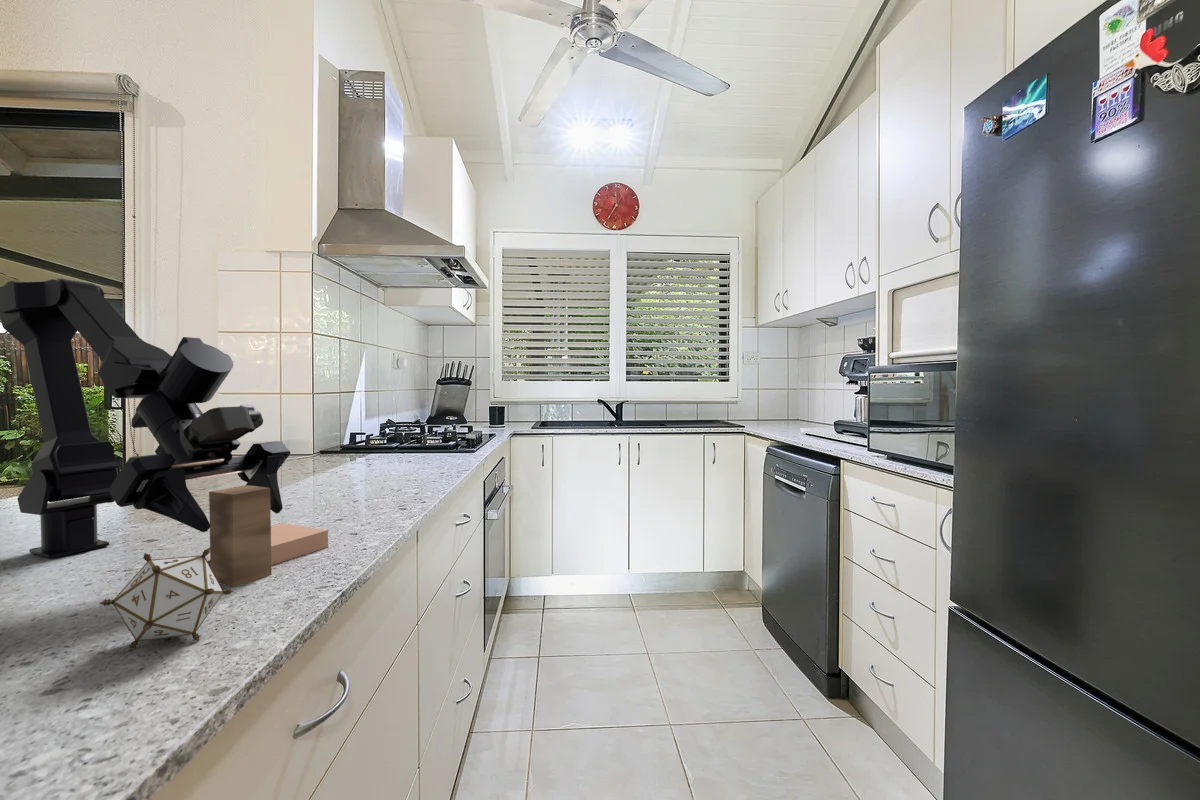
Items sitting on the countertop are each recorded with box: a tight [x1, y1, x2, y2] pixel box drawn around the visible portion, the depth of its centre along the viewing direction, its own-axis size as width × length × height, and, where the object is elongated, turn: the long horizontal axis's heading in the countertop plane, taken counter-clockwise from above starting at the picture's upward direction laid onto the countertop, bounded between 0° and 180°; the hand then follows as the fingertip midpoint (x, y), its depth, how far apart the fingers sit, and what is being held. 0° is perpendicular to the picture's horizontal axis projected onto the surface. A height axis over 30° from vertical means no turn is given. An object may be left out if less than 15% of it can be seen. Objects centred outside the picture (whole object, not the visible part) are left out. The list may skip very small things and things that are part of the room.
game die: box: [98, 547, 234, 652], centre depth 49 cm, size 9×8×10 cm
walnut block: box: [208, 484, 272, 588], centre depth 64 cm, size 4×4×11 cm
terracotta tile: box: [271, 522, 329, 566], centre depth 74 cm, size 10×10×2 cm
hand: (245, 519), depth 64 cm, fingers open, 9 cm apart
